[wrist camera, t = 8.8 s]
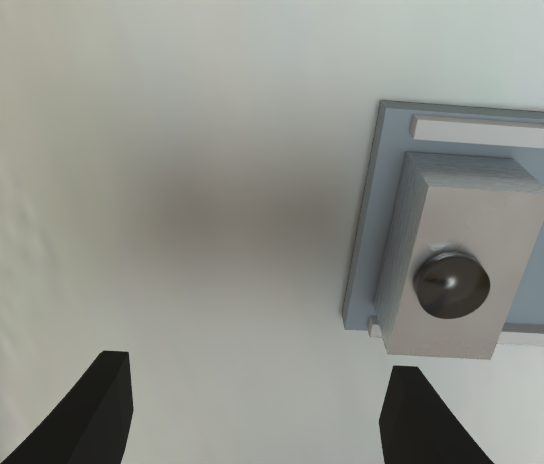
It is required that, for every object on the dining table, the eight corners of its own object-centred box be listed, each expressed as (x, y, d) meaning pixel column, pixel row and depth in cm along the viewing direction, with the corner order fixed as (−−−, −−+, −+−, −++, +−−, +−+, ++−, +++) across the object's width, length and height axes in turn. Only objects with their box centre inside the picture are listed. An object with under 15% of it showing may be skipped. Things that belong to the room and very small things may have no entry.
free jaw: (464, 310, 22) (496, 371, 19) (373, 305, 22) (390, 365, 19) (514, 159, 19) (563, 203, 16) (406, 151, 19) (434, 194, 16)
